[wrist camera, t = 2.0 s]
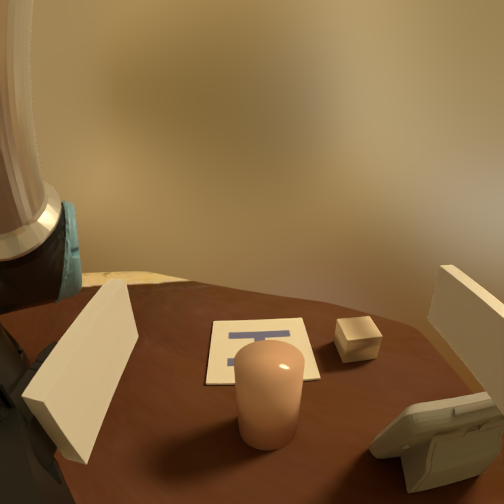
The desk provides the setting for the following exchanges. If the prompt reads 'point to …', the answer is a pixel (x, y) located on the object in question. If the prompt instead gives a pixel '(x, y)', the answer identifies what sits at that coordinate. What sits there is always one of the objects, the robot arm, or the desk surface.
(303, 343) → the letter card
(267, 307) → the desk surface
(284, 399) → the terracotta canister
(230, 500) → the desk surface
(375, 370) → the desk surface
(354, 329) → the ash block
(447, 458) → the digital clock
